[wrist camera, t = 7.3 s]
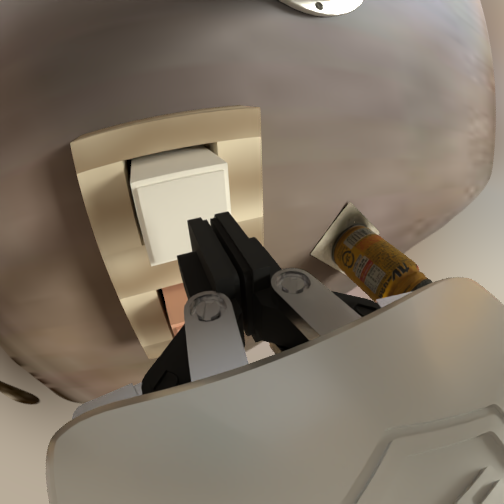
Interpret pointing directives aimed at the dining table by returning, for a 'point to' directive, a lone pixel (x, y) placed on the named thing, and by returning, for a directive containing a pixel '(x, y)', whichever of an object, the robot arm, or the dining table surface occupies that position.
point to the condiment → (367, 257)
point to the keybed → (124, 211)
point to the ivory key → (177, 197)
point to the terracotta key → (175, 305)
